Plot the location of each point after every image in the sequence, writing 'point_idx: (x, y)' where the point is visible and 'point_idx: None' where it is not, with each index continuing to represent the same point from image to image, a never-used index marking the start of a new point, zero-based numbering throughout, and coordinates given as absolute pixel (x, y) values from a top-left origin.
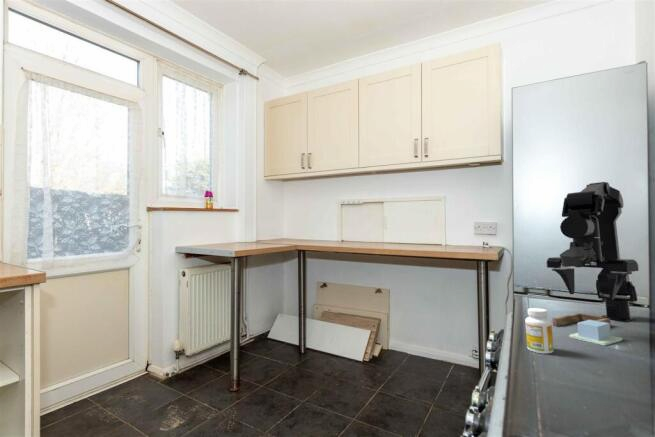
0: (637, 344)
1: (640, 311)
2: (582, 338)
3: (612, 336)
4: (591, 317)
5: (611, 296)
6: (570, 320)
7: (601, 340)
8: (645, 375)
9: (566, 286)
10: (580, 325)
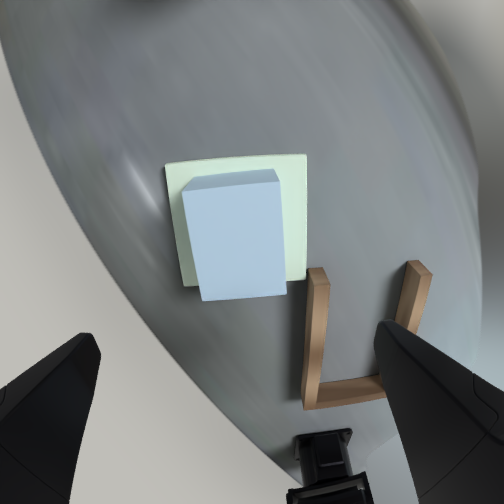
0: (140, 278)
1: None
2: (249, 157)
3: None
4: (351, 394)
5: (69, 343)
6: None
7: None
8: (4, 37)
9: (440, 351)
10: (263, 179)
